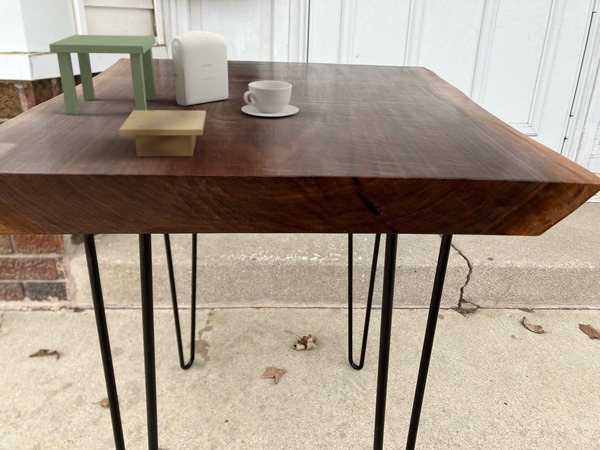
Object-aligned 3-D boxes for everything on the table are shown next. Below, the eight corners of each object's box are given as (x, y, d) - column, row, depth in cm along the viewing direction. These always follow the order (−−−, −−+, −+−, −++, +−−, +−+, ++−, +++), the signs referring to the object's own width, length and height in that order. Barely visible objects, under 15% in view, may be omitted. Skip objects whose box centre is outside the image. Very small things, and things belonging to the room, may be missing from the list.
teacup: (278, 103, 98) (278, 77, 96) (310, 114, 91) (311, 87, 89) (230, 109, 93) (229, 82, 91) (260, 121, 85) (260, 92, 83)
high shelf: (60, 115, 85) (48, 44, 80) (83, 97, 98) (74, 34, 93) (149, 115, 87) (143, 45, 82) (160, 97, 99) (155, 36, 95)
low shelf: (122, 160, 66) (118, 129, 64) (136, 138, 75) (133, 110, 73) (203, 160, 67) (202, 129, 65) (207, 138, 76) (206, 110, 74)
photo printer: (184, 107, 93) (179, 33, 88) (172, 103, 96) (166, 30, 90) (232, 100, 99) (230, 30, 94) (219, 96, 102) (216, 28, 97)
